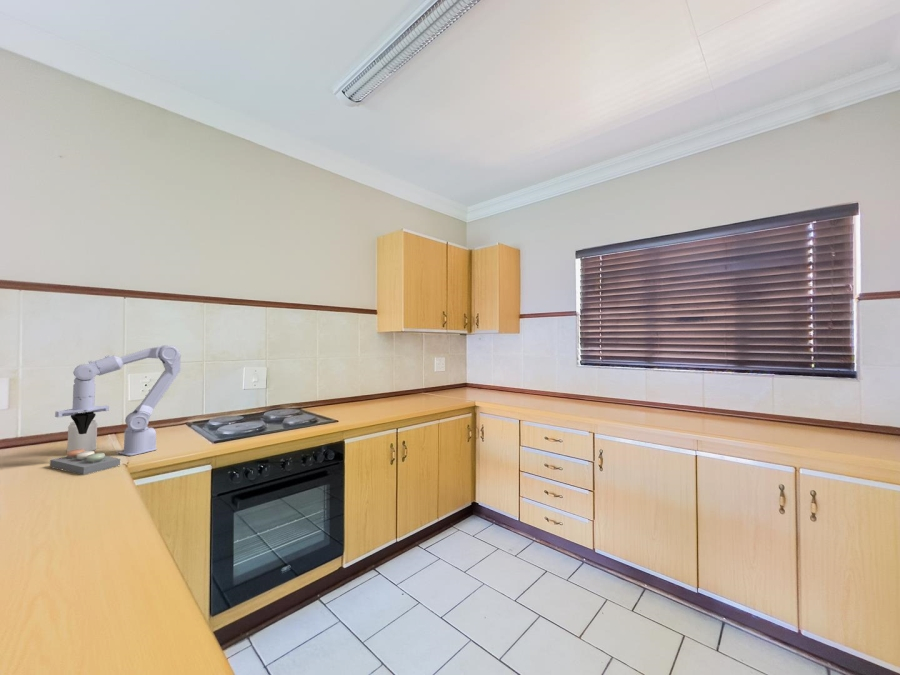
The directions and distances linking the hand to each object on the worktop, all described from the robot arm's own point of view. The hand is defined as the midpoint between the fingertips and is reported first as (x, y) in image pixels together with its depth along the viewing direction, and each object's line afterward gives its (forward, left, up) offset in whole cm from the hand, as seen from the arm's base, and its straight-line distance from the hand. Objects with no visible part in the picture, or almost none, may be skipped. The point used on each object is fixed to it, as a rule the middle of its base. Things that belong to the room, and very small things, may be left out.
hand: (82, 433), depth 134 cm
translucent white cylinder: (-6, -13, -10) cm, 18 cm away
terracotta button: (+3, +3, -9) cm, 10 cm away
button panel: (+3, +9, -10) cm, 14 cm away
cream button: (+3, +9, -9) cm, 13 cm away
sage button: (+3, +15, -9) cm, 18 cm away
